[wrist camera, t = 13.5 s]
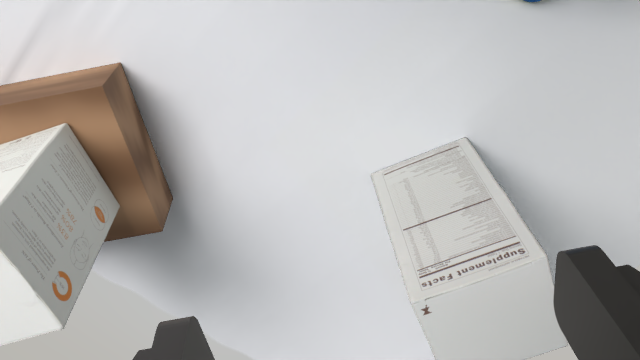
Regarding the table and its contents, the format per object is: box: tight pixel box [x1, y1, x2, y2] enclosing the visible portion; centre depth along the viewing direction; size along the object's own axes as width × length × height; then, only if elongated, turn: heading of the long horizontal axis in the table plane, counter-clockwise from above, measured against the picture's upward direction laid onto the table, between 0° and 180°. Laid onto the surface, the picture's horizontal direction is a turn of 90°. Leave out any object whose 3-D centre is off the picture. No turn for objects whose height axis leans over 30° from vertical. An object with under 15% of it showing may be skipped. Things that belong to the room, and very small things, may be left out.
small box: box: [0, 123, 120, 346], centre depth 35 cm, size 8×6×13 cm
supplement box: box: [371, 138, 568, 360], centre depth 43 cm, size 10×9×17 cm
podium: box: [0, 63, 173, 242], centre depth 43 cm, size 13×13×5 cm
